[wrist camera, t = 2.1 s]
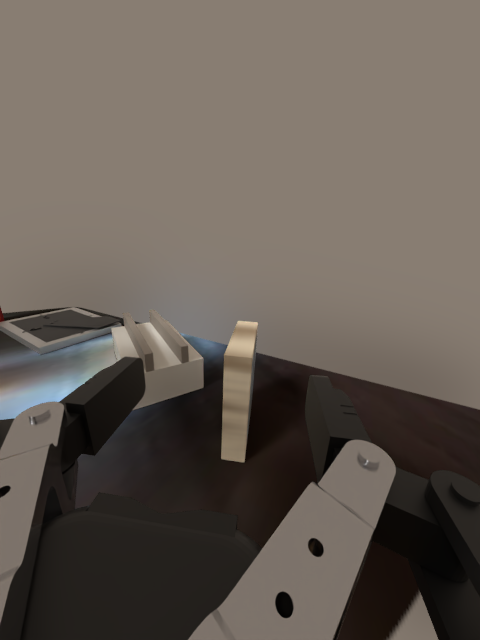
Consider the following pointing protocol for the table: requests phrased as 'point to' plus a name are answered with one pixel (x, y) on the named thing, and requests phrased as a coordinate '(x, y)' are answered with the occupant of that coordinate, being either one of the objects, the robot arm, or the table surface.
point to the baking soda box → (1, 316)
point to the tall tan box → (238, 390)
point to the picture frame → (58, 329)
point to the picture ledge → (159, 357)
